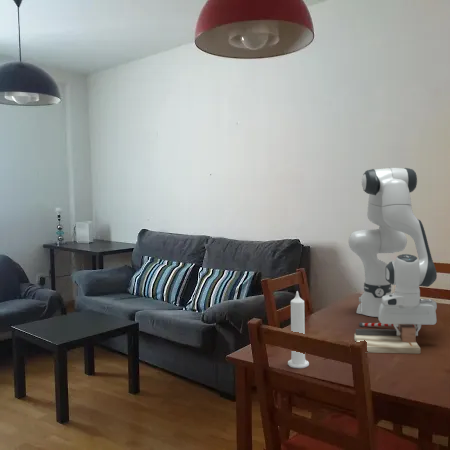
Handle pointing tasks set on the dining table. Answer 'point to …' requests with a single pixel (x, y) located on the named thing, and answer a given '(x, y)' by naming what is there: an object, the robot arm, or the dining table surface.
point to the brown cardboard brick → (407, 333)
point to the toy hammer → (378, 324)
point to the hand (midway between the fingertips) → (406, 335)
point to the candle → (297, 330)
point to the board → (385, 341)
